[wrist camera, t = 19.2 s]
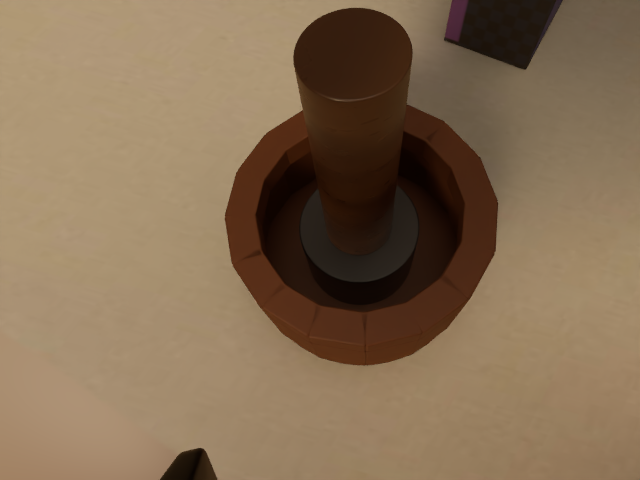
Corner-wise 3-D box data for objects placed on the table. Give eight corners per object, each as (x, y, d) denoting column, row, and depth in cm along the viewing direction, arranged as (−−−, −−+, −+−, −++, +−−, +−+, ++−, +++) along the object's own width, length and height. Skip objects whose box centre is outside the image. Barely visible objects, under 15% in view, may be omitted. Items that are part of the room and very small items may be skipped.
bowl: (459, 383, 21) (489, 367, 16) (235, 345, 22) (195, 318, 17) (474, 178, 24) (503, 110, 19) (280, 156, 26) (258, 88, 21)
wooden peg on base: (432, 244, 22) (508, 27, 10) (371, 326, 21) (378, 189, 9) (349, 190, 24) (331, -56, 12) (287, 265, 23) (199, 76, 11)
